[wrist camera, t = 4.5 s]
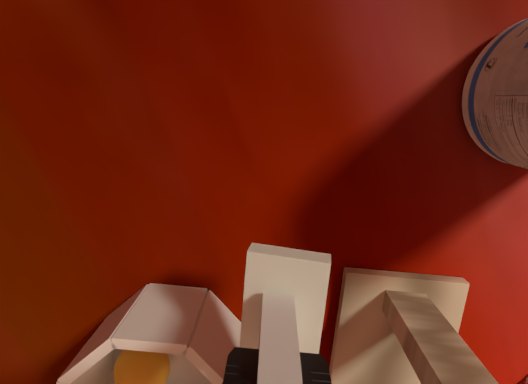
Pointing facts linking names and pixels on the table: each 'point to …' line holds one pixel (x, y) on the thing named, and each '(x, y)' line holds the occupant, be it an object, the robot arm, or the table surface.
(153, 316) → the cup
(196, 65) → the table surface
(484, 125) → the supplement tub
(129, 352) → the ball
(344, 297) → the chute stand
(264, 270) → the seesaw chute
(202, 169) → the table surface
